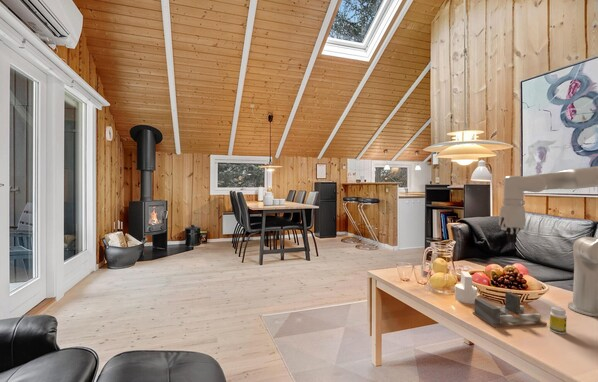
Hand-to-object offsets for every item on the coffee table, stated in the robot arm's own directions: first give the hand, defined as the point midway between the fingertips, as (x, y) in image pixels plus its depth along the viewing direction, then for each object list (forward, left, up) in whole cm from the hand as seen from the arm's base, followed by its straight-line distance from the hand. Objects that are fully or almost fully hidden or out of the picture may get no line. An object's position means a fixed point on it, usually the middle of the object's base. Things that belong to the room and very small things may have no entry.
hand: (511, 242), depth 139 cm
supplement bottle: (+6, +28, -27) cm, 40 cm away
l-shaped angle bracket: (+18, +19, -26) cm, 37 cm away
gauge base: (+16, +17, -27) cm, 36 cm away
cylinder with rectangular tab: (+20, -3, -27) cm, 34 cm away
